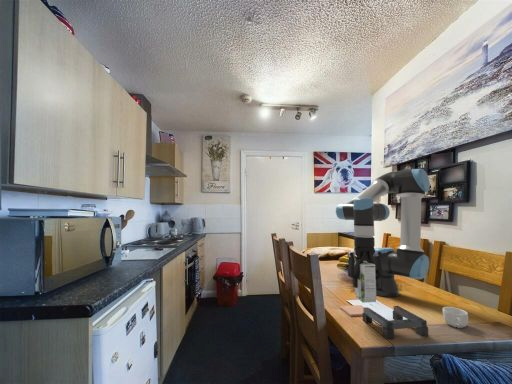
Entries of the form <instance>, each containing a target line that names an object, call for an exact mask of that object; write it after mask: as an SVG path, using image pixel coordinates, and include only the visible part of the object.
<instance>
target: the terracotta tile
mask: <svg viewBox="0 0 512 384" xmlns="http://www.w3.org/2000/svg"><path fill="white" fill-rule="evenodd" d="M363 308H365V306H363V305H362V304H361V305H360V304H357V305H354V304H353V305H341V306H339V309H340V310H342V311H343V313H345V314H347V315H348V316H349V317H363V313H364V312H363Z"/></svg>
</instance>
